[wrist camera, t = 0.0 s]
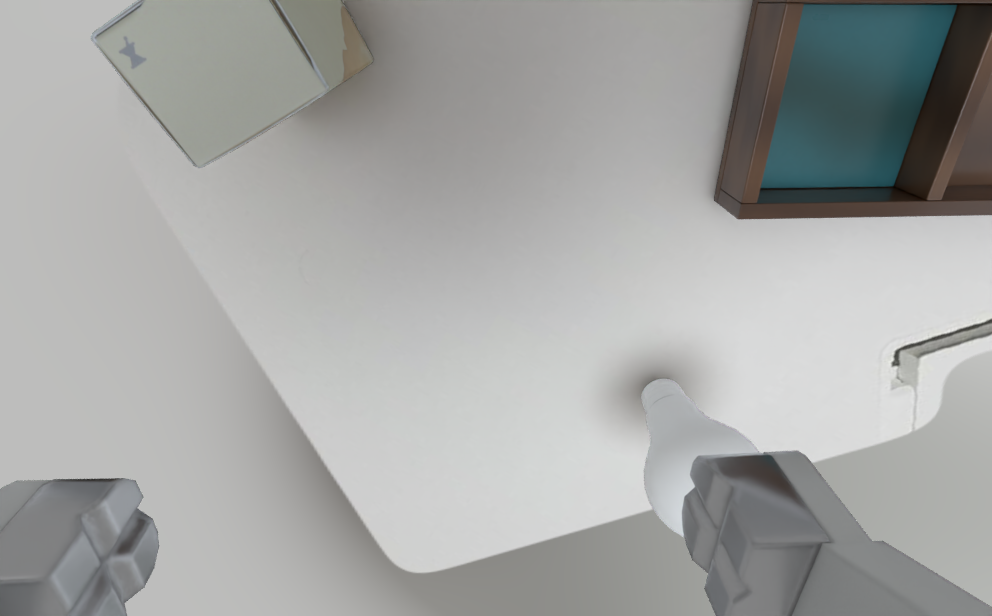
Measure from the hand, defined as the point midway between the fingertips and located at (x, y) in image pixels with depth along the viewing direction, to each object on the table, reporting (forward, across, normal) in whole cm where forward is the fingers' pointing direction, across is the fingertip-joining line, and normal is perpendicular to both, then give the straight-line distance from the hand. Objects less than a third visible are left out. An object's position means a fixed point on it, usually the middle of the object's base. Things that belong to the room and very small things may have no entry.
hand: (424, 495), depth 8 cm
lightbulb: (+22, -13, +15) cm, 30 cm away
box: (+22, +6, -5) cm, 24 cm away
